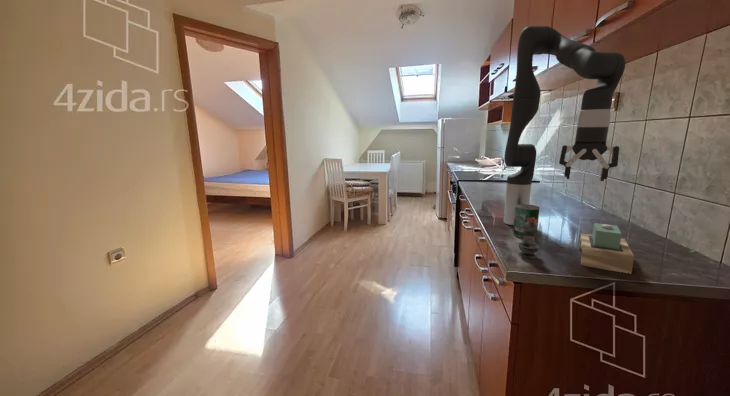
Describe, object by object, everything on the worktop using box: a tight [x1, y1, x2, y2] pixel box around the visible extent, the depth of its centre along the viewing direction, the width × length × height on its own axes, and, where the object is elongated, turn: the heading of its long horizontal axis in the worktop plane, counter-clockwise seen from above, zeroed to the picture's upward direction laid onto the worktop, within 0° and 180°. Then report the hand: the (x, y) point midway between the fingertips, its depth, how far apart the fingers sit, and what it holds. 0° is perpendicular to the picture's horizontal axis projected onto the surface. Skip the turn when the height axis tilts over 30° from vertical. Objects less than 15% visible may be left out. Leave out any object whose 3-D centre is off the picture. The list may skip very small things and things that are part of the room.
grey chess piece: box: [517, 219, 540, 260], centre depth 92 cm, size 6×6×12 cm
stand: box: [578, 233, 635, 275], centre depth 89 cm, size 16×11×5 cm
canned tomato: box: [512, 204, 540, 239], centre depth 111 cm, size 8×8×11 cm
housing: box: [591, 222, 622, 249], centre depth 87 cm, size 9×6×5 cm, turn 147°
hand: (584, 179), depth 92 cm, fingers open, 8 cm apart
